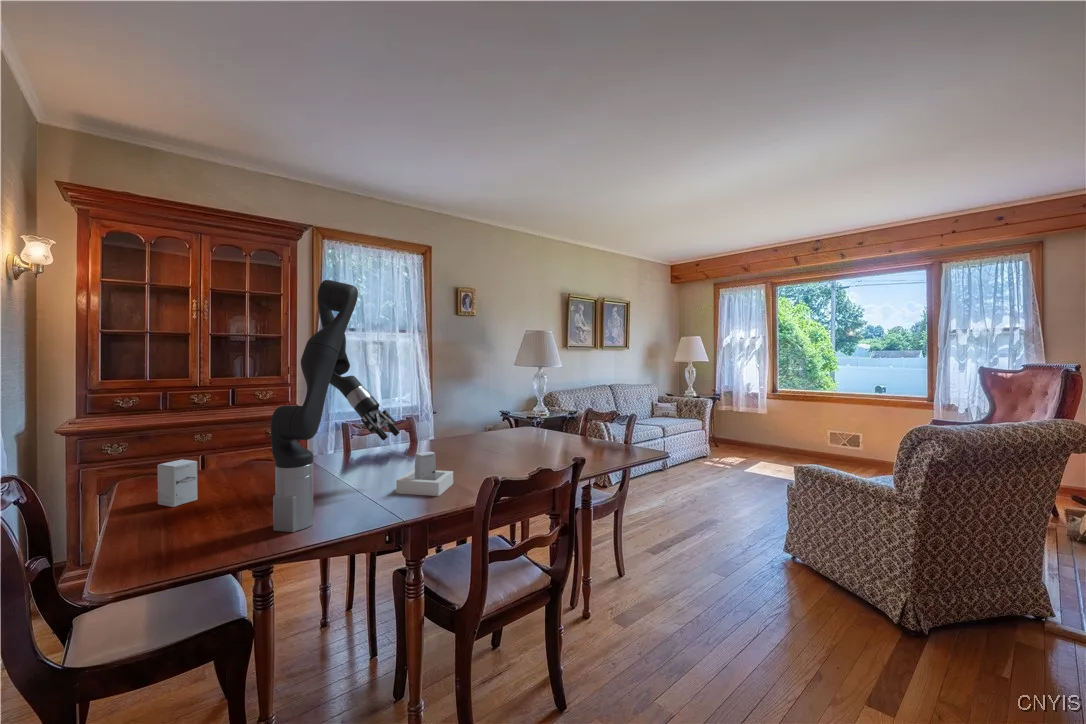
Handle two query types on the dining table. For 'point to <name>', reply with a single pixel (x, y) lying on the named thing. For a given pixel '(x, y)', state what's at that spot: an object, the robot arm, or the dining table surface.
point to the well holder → (424, 484)
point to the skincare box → (425, 465)
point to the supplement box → (177, 482)
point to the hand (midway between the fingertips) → (391, 436)
